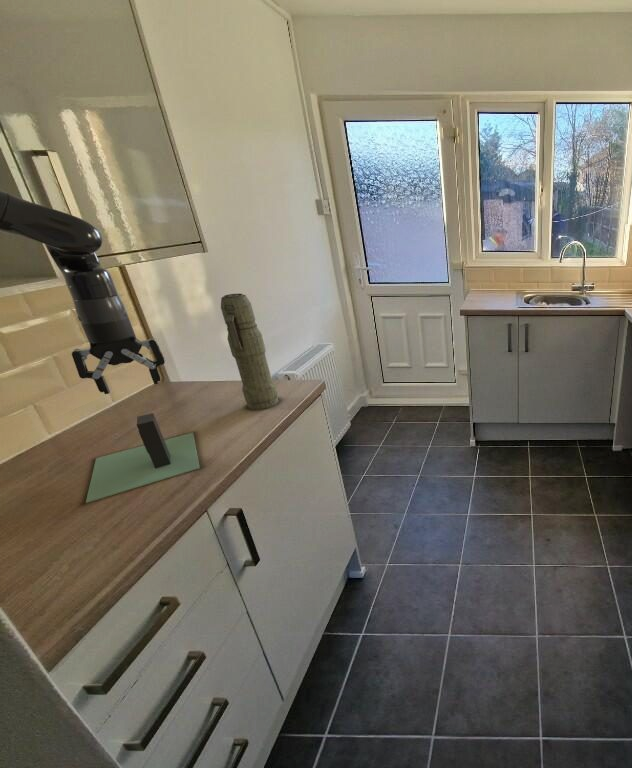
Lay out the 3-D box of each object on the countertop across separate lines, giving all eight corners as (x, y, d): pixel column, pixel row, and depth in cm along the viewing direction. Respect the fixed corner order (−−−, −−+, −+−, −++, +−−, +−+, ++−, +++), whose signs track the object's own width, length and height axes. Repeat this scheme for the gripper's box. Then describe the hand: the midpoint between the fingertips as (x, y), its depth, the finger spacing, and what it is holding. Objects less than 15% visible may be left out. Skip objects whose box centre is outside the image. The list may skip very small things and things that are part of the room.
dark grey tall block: (153, 469, 99) (135, 425, 94) (153, 459, 103) (135, 416, 98) (170, 464, 101) (153, 420, 96) (170, 455, 105) (153, 412, 100)
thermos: (242, 414, 126) (206, 300, 112) (254, 398, 136) (223, 292, 123) (273, 411, 128) (243, 298, 114) (283, 395, 138) (256, 290, 124)
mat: (86, 504, 88) (85, 502, 88) (96, 460, 104) (95, 458, 104) (200, 469, 100) (199, 467, 99) (193, 434, 115) (193, 432, 115)
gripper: (147, 310, 95) (171, 376, 101) (60, 320, 86) (91, 391, 93) (147, 316, 89) (172, 385, 95) (54, 327, 81) (87, 402, 87)
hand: (132, 388), depth 94 cm, fingers open, 8 cm apart
